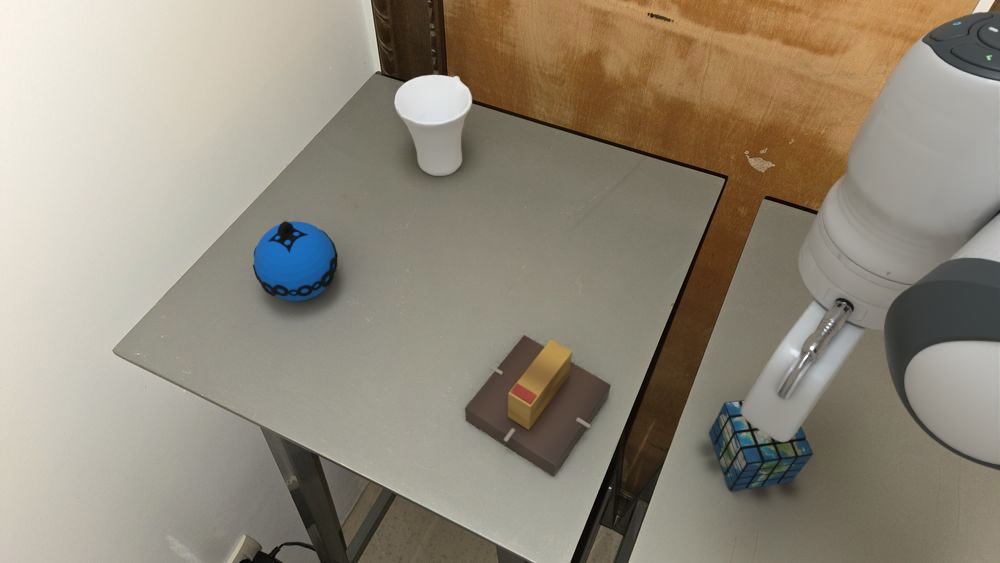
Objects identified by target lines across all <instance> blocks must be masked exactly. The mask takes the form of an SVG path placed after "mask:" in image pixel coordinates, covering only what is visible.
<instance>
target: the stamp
mask: <svg viewBox="0 0 1000 563" xmlns="http://www.w3.org/2000/svg"><path fill="white" fill-rule="evenodd" d="M572 357H573V350H571V349H569V348H568V347H566V346H564V345H562V344H561V343H559V342H557V341H556V340H554V339H552V338H551V339H549V341H548V342H547V343H546V344H545V345H544V348H543V350H542V351H541V352H540V353H539V355H538V356H537V357H536V359H535V360H534V361H533V362H532V364H531V365H530V366H529V367H528V369H527V370H526V371H525V373H524V374H523V375H522V376H521V378H520V379H519V380H518V381H517V383H516V384H515V385H514V387H513V388H512V389H511V390H510V392H509V393H508V417H509V418H511V419H512V420H514V421H515V422H517V423H519V424H520V425H522V426H523V427H525V428H526V429H528V430H529V429H530V428H531V426H532V425H533V424H534V422H535V421H536V420H537V418H538V417H539V416H540V414H541V413H542V412H543V410H544V409H545V408H546V406H547V405H548V404H549V402H550V401H551V399H552V398H553V397H554V395H555V394H556V393H557V391H558V390H559V389H560V387H561V386H562V385H563V383H564V382H565V381H566V379H567V378H568V377H569V371H570V365H571V362H572V359H573V358H572Z"/></svg>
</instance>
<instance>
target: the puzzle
mask: <svg viewBox="0 0 1000 563" xmlns="http://www.w3.org/2000/svg"><path fill="white" fill-rule="evenodd" d="M744 400H745V399H740V400H733V401H725V402H724V403H723V404H722V406H721V408H720V411H719V412H718V414H717V416H716V418H715V420H714V422H713V424H712V426H711V428H710V430H709V437H710V439H711V443H712V445H713V446H714V450H715V453H716V456H717V459H718V460H719V466H720V469H721V470H722V474H723V475H724V480H725V482H726V485H727V489H728V490H729V491H730V492H735V491H742V490H745V489H747V490H749V489H756V488H760V487H770V486H775V485H781V484H789V483H792V482H793V481H794V480H795V478H796V477H797V476H798V474H799V473H800V472H801V470H803V468H804V467H805V465H807V463H808V462H809V460H810V459H811V458H812V456H813V455H814V452H813V450H812V448H811V446H810V444H809V441H808V439H807V436H806V434H805V431H804V429H803V427H802V426H801V427H800V428H799V429H798V431H797V432H796V434H795V435H794V436H793V437H792V438H791V439H790V440H789V441H787V442H780V441H777V440H775V439H773V438H771V437H770V436H768V435H766V434H765V433H763V432H762V431H760V430H759V429H757V428H756V427H755V426H753V425H752V424H751V423H749V422H748V421H747V420H746V419H745V418H744V417H743V416H742V414H741V407H742V404H743V402H744Z"/></svg>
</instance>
